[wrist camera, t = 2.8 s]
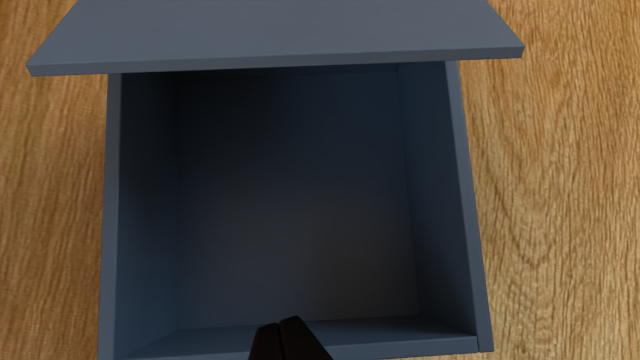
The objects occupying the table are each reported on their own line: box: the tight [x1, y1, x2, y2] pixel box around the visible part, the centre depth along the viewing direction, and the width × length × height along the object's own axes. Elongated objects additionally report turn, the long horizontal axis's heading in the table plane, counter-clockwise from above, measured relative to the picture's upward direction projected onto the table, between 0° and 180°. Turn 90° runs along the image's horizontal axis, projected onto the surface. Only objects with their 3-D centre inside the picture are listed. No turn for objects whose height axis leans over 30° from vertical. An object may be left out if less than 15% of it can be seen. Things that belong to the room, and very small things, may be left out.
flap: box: [26, 0, 525, 77], centre depth 13 cm, size 6×12×1 cm
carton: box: [97, 60, 494, 360], centre depth 18 cm, size 13×12×8 cm
